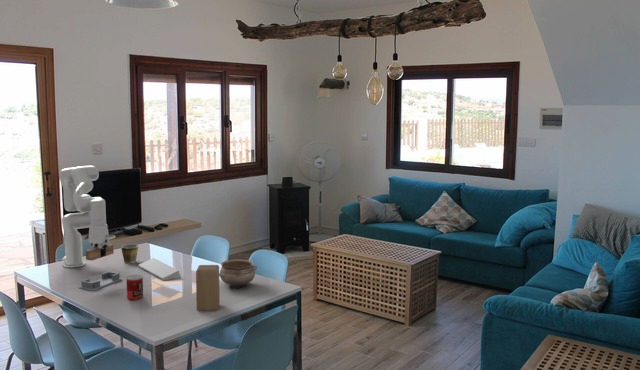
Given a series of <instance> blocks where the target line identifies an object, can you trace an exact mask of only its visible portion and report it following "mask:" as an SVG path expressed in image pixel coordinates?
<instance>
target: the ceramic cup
mask: <svg viewBox="0 0 640 370" xmlns="http://www.w3.org/2000/svg"><path fill="white" fill-rule="evenodd" d="M120 249H121V253H122V258H123V262H124V263H125V264H135V263H136V262H137V257H138V253H139V252H138V251H139V245H138V244H123V245H121V246H120ZM134 262H135V263H134Z"/></svg>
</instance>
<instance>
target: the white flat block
mask: <svg viewBox="0 0 640 370" xmlns="http://www.w3.org/2000/svg"><path fill="white" fill-rule="evenodd" d="M138 267H139V268H140V269H142V270H144V271H145V270H146V271H145V272H147V273H149V274H151V275H153V276H155V277H156V276H157V277H156V278H157V279H160V280H162V281H164V282H165V280H166V281H170V280H173V279H180V278H181V274H180V271H179V270H178V268H177V269H176V268H174V267H172V266H171V265H168V264H167V263H164V262H162V261H160V260H158V259H157V258H155V257H152V258H150V259H148V260H145V261H143V262H141V263H139V264H138Z"/></svg>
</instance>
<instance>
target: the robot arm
mask: <svg viewBox="0 0 640 370" xmlns="http://www.w3.org/2000/svg"><path fill="white" fill-rule="evenodd" d="M99 175H100V173H99V170H98V168H97V167H96V166H94V165H83V166H82V165H81V166H76V167H67V168H63V169H60V171H59V175H58V176H59V180H60V183H61V186H62V189H63V205H64V209H65V211H66V212H70V213H67V214H65V215H63V216H62V219H61V223H62V228H63V234H64V252H65V253H64V255H65V256H63V258H61V261H62V262H63V261H64V263H62V267H63V268H67V269H69V268H80V267H83V266H85V265H86V264H87V263H86V261H85V260H83V259H84V258H83V253H84V252H83V237H82V234H81V232H79V231H78V230H79V229H86V228H87V229H89V230H88V243H89V244H90V246H92V248H96V247H99V245H100V246H101V258H104V257H103V256H105V257H107V256H106V248H107V246H108V245H110V244H111V242H110V237H109V236H110V235H109V228H108V224H107V213H106V212H107V211H106V210H107V209H106V208H107V207H106V200H105V199H104V198H102V197H101V196H94V197H93V196H91V195H90V194H88V193H89V192H91V191H92V190H93V188H94V183H93V182H94V181H95V182H96V181H97V180H98V179H99ZM71 212H73V213H71ZM103 245H104V246H103Z"/></svg>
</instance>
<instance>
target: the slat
mask: <svg viewBox="0 0 640 370" xmlns="http://www.w3.org/2000/svg"><path fill="white" fill-rule="evenodd" d="M103 246H104V244H103ZM114 252H115V251H114V244H112V243H110V245H108V246H107V248H106V256H103V257H101V245H100V246H99V245H98V247H96V248H93V247H92V248H90V249H87V250H86V249H85V260H86V261H95V260H98V259H102V258H104V257H107V256H110V255H114Z"/></svg>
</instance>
